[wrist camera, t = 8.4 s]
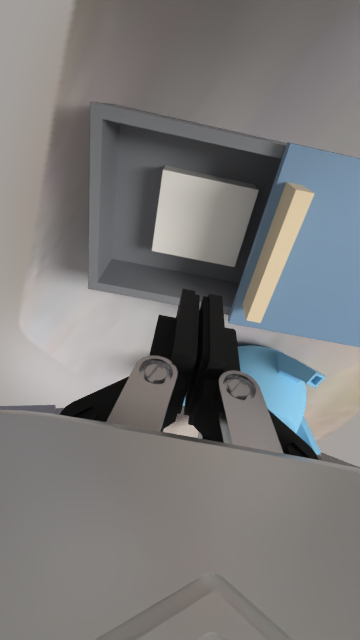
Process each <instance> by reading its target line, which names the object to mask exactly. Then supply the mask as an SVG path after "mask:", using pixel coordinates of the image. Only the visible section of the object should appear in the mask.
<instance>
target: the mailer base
mask: <svg viewBox="0 0 360 640" xmlns="http://www.w3.org/2000/svg"><path fill="white" fill-rule="evenodd" d="M286 145H287V143H283V142H279V141H274V140H270V139H265V138H261V137H256V136H252V135H247V134H243V133H239V132H234V131H230V130H225V129H221V128H216V127H212V126H207V125H203V124H199V123H194V122H190V121H185V120H181V119H176V118H172V117H167V116H163V115H158V114H154V113H150V112H145V111H141V110H136V109H132V108H127V107H123V106H118V105H114V104H107V103H98V102H90V183H89V270H88V289H93V290H99V291H104V292H109V293H115V294H120V295H125V296H131V297H136V298H142V299H147V300H152V301H158V302H163V303H168V304H174V305H179V302H180V298H181V293H182V289H188V290H194V291H195V294H196V295H200V302H199V309H200V306H201V302H202V299H203V296H206V297H208V295H209V294H214V295H219V296H222V300H223V313H224V314H228V315H229V314H230V311H231V308H232V305H233V302H234V299H235V296H236V293H237V290H238V287H239V284H240V281H241V278H242V276H243V273H244V270H245V267H246V264H247V261H248V258H249V255H250V252H251V249H252V246H253V243H254V240H255V237H256V234H257V231H258V228H259V225H260V222H261V219H262V216H263V213H264V210H265V207H266V204H267V202H268V199H269V196H270V193H271V190H272V187H273V184H274V181H275V178H276V175H277V172H278V169H279V166H280V163H281V160H282V157H283V154H284V151H285V148H286Z"/></svg>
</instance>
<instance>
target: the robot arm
mask: <svg viewBox="0 0 360 640" xmlns="http://www.w3.org/2000/svg"><path fill="white" fill-rule="evenodd" d="M199 302H200V295H196V294H195V291H194V290H188V289H182V293H181V298H180V302H179V307H178V312H177V316H176V318H173V317H168V316H163V315H159V317H158V321H157V326H156V330H155V334H154V339H153V343H152V347H151V351H150V356H147V357H143V358H142V359H140V360H139V361H138V362H137V363H136V365H135V367H134V369H133V371H132V372H131V374H130V376H129V377H127V378H125V379H122V380H120V381H118V382H116V383H114V384H112V385H109V386H107V387H105V388H103V389H101V390H98V391H96V392H94V393H92V394H90V395H88V396H85V397H83V398H81V399H79V400H77V401H74V402H72V403H71V404H69V405H68V406H66V407H65V408H56V407H55V405H34V406H33V405H32V406H0V640H360V467H357V466H354V465H352V464H349V463H347V462H344V461H342V460H339V459H336V458H334V457H331V456H329V455H326V454H324V453H320V454H319V455H317V454H316V453H315V452H314V450H313V449H312V448H311V447H310V446H309V445H308V444H307V443H306V442H305V441H304V440H303V439H301V438H300V437H299V436H298V435H297V434H296V433H295V432H293V431H292V430H291V429H290V428H289V427H288V426H287V425H286V424H284V423H283V422H282V421H281V420H280V419H279V418H278V417H277V416H275V415H274V414H273V413H272V412H271V411H270V410H269V409H267V406H266V403H265V400H264V397H263V395H262V392H261V389H260V387H259V385H258V383H257V382H256V381H255V380H254V379H253V378H252V377H251V376H249V375H248V374H246V373H243V372H241V371H240V362H239V354H238V346H237V338H236V331H235V330H234V329H229V328H225V327H224V313H223V300H222V296H219V295H214V294H209V295H208V297H206V296H203V299H202V302H201V306H200V310H199ZM184 399H185V408H184V415H189V423H188V424H189V425H193V426H194V427H195V428H196V429H197V430H198V431H199V434H198V438H194V437H188V436H182V435H177V434H171V433H165V432H163V430H164V428H165V427H167V426H169V425H170V424H172V423H173V422H175V420H176V417H177V413H178V414H180V413H181V409H182V406H183V403H184Z"/></svg>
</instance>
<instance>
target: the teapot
mask: <svg viewBox="0 0 360 640" xmlns="http://www.w3.org/2000/svg"><path fill="white" fill-rule="evenodd" d="M238 354H239V362H240V371H241V372H243V373H246V374H248V375H249V376H251V377H252V378H253V379H254V380H255V381H256V382H257V383H258V385H259V387H260V389H261V392H262V395H263V397H264V400H265V403H266V406H267V409H269V410H270V411H271V412H272V413H273V414H274V415H275V416H277V417H278V418H279V419H280V420H281V421H282V422H283V423H284V424H286V425H287V426H288V427H289V428H290V429H291V430H292V431H293V432H295V433H296V434H297V435H298V436H299V437H300V438H301V439H303V440H304V441H305V442H306V443H307V444H308V445H309V446H310V447H311V448H312V449H313V450H314V452H315V453H316V454H317V455H319V454H320V453H321V452H320V449H319V447H318V445H317V443H316V441H315V439H314V437H313V435H312V433H311V430H310V428H309V426H308V424H307V422H306V420H305V418H304V416H303V415H304V412H305V407H306V385H305V383H306V384H308V385H310V386H312V387H314V388H316V387H317V386H318V385H319V384H320V383H321V382H322V381H323V380H324V379H325V378H326V377H325V376H324V375H323V374H321V373H319V372H317V371H315V370H314V369H312V368H310V367H308V366H307V365H305V364H303V363H301V362H299V361H298V360H296V359H294V358H291V357H289V356H287V355H285V354H284V353H282V352H279V351H277V350H274V349H271V348H268V347H263V346H249V345H248V346H240V347H238ZM183 406H185V399H184V403H183Z"/></svg>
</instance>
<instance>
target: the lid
mask: <svg viewBox="0 0 360 640" xmlns="http://www.w3.org/2000/svg"><path fill="white" fill-rule="evenodd" d="M228 321H229V323H231V324H236V325H242V326H247V327H253V328H258V329H264V330H269V331H274V332H280V333H285V334H291V335H296V336H302V337H307V338H312V339H318V340H323V341H329V342H334V343H340V344H345V345H350V346H356V347H360V159H359V158H355V157H350V156H346V155H342V154H337V153H333V152H328V151H324V150H319V149H315V148H310V147H306V146H302V145H297V144H293V143H288V142H287V145H286V148H285V151H284V154H283V157H282V160H281V163H280V166H279V169H278V172H277V175H276V178H275V181H274V184H273V187H272V190H271V193H270V196H269V199H268V202H267V204H266V207H265V210H264V213H263V216H262V219H261V222H260V225H259V228H258V231H257V234H256V237H255V240H254V243H253V246H252V249H251V252H250V255H249V258H248V261H247V264H246V267H245V270H244V273H243V276H242V278H241V281H240V284H239V287H238V290H237V293H236V296H235V299H234V302H233V305H232V308H231V311H230V314H229V317H228Z"/></svg>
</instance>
